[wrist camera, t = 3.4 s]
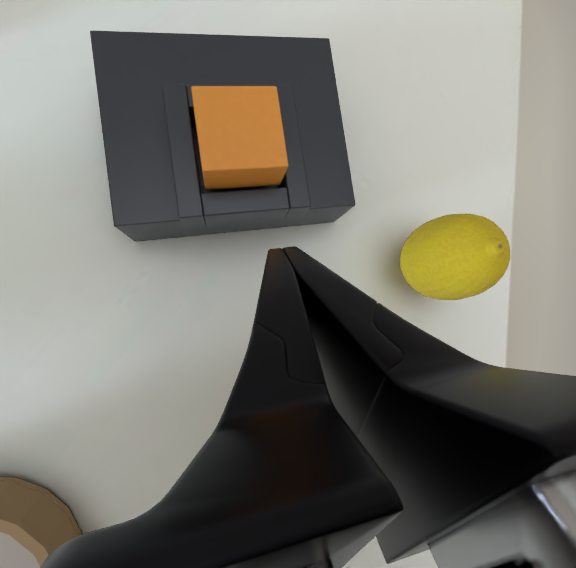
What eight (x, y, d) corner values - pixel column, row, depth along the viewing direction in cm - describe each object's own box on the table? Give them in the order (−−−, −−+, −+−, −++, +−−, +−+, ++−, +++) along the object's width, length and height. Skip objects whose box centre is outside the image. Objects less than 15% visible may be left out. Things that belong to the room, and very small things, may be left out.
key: (280, 185, 17) (289, 166, 15) (205, 190, 16) (202, 171, 14) (270, 114, 17) (277, 85, 15) (195, 116, 16) (190, 85, 14)
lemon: (426, 221, 25) (518, 182, 17) (453, 284, 25) (557, 274, 17) (369, 246, 24) (439, 217, 16) (397, 312, 24) (482, 315, 16)
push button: (334, 228, 23) (371, 201, 18) (135, 248, 21) (100, 224, 15) (312, 81, 24) (340, 8, 18) (114, 81, 21) (72, -6, 15)
